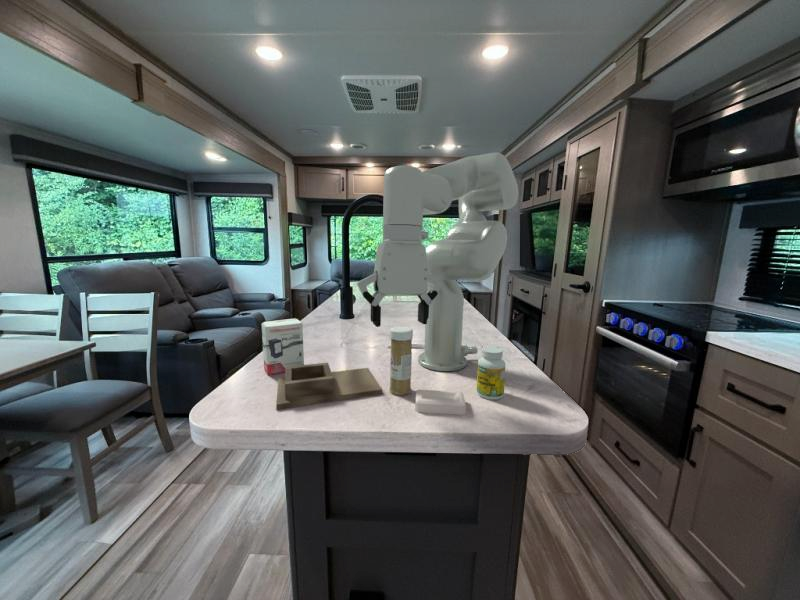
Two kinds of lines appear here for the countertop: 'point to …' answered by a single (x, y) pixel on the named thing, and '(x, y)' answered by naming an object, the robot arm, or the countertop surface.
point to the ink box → (282, 345)
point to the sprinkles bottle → (400, 360)
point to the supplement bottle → (491, 374)
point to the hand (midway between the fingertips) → (399, 324)
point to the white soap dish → (440, 402)
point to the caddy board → (323, 385)
